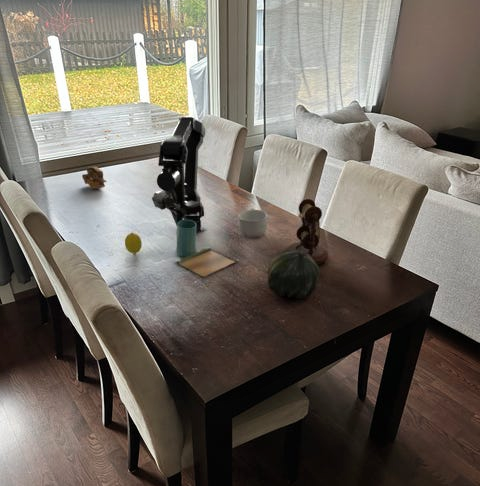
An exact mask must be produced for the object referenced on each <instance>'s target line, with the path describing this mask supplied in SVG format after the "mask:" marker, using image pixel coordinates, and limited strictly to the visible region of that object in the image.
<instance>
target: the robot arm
mask: <svg viewBox="0 0 480 486" xmlns="http://www.w3.org/2000/svg"><path fill="white" fill-rule="evenodd" d="M205 136H206V128H205V126H204V124H203V122H201V121H199V120H196V118H195V117H193V116H180V117H179V118H178V123H177V125H176V127H175V128H174V130H173V133H172V135H170V136H167V137H166V138H165V139H164V140H163V141H162V142H161V144H160V145H159V146H160V147H159V155H158V167H162V168H161V172H160V173H159V174H158V175H157V178H156V184H157V186H158V188H159V189H161V190H160V191H155V192H154V194H153V196H152V197H151V200H152V203H153V205H154V207H155V208H157V209H160V210H162V211H164V210H166V209H167V210H169V212H170V214H171V216H172V218H173V220H174V223H175V225H176V227H177V222H178V221H180V220H186V219H187V220H192V221H194V222H195V223H196V225H197V228H196V234H197V233H200V232H202V231H205V229H204V227H202V221H201V218H202V217H205V208H204V205H203V203H202V202H201V196H200V194H199V193H198V189H197V188H198V166H199V150H200V148H201V147H202V145H203V143H204V138H205Z"/></svg>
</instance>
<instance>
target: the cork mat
mask: <svg viewBox="0 0 480 486" xmlns="http://www.w3.org/2000/svg"><path fill="white" fill-rule="evenodd" d="M235 263H236V261H234V260H233V259H230V258H228V257H226V256H223V255H222V254H220V253H217V252H215V251H213V250H212V249H211V247H209V246H206V247H204V248H202V249H199V250H197V251H195V253H192V254H190V255H188V256H185V257H181V258H179V259H177V260H176V264H177V265H178V266H181V267H182V268H185V269H187V270H189V271H191V272H192V273H194V274H196V275H198V276H200V277H202V278H206V277H207V276H210V275H212V274H214V273H217V272H218V271H220V270H222V269H224V268H227V267H229V266H231V265H233V264H235Z"/></svg>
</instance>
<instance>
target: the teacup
mask: <svg viewBox="0 0 480 486" xmlns="http://www.w3.org/2000/svg"><path fill="white" fill-rule="evenodd" d="M237 217H238V218H237V219H238V228H239V231H240V233H241V234H243V235H244V236H246V237H248V238H258V237H261V236H263V234H265V233H266V231H267V229H268V217H269V215H268V213H267V211H264V210H261V209H255V208H254V207H252V208H250V209H246V210H243V211H242V212H241V211H240V213H239V214H238V215H237Z"/></svg>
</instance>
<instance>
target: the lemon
mask: <svg viewBox="0 0 480 486" xmlns="http://www.w3.org/2000/svg"><path fill="white" fill-rule="evenodd" d="M142 243H143V242H142V238H141V237H140V235H138V234H137V233H136V232H130V233H128V234H127V235H126V236H125V239H124V246H125V249H126V250H127V252H129V253H130V254H133V255H136V254H137V253H139V252H140V251H141V250H142Z"/></svg>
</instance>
